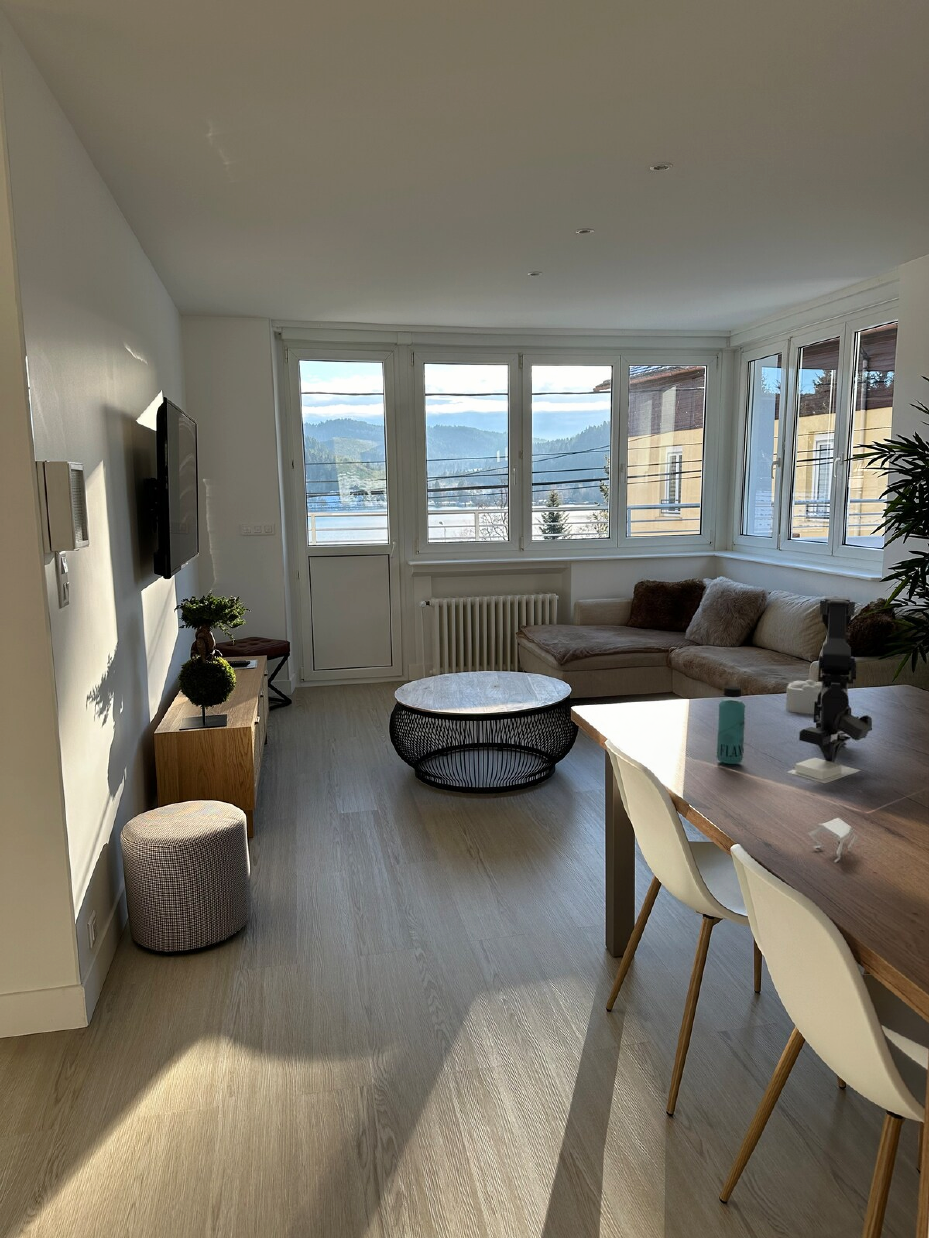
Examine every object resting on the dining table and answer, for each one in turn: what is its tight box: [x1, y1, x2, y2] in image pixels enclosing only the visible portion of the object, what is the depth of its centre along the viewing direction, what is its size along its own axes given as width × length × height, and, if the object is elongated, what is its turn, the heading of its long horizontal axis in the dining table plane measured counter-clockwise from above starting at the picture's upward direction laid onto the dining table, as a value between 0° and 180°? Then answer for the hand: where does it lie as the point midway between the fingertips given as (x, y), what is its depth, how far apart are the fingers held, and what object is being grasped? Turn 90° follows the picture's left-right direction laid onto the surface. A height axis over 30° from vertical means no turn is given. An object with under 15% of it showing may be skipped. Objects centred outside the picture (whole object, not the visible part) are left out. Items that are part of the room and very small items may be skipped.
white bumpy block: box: [785, 679, 822, 715], centre depth 260 cm, size 10×13×9 cm
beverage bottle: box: [715, 685, 746, 765], centre depth 208 cm, size 6×7×20 cm
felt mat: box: [787, 764, 862, 784], centre depth 204 cm, size 10×15×1 cm, turn 125°
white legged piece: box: [807, 817, 858, 863], centre depth 159 cm, size 12×8×5 cm
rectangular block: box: [794, 757, 842, 780], centre depth 202 cm, size 7×2×8 cm
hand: (830, 764), depth 205 cm, fingers closed
